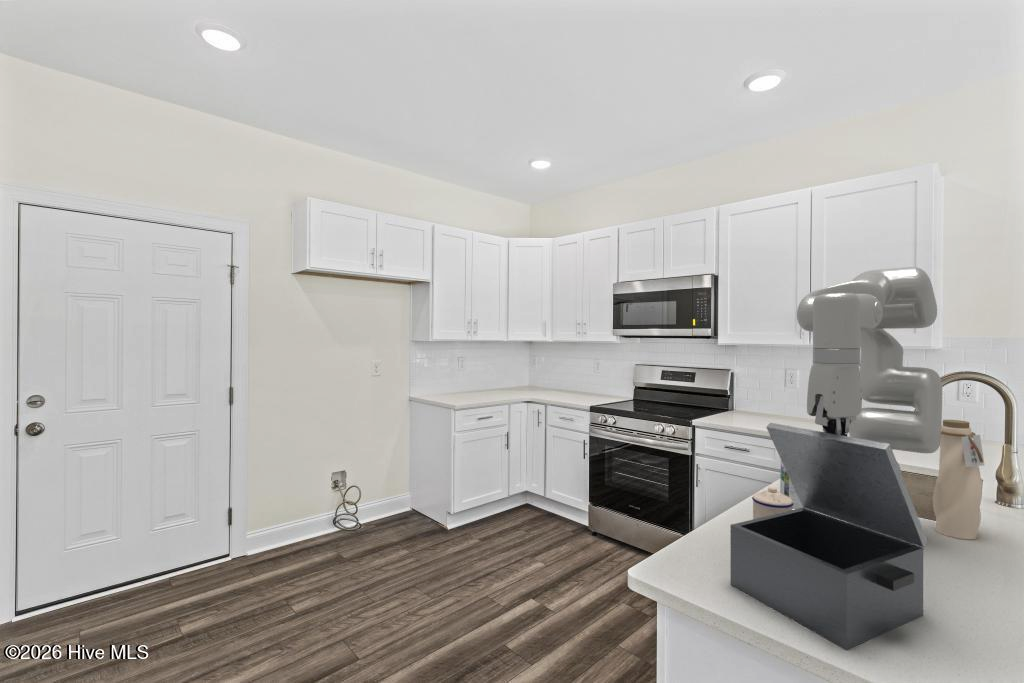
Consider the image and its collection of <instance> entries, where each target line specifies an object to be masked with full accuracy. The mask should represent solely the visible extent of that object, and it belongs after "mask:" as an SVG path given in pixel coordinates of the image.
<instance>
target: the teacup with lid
mask: <svg viewBox="0 0 1024 683" xmlns="http://www.w3.org/2000/svg"><path fill="white" fill-rule="evenodd" d="M751 499H752V504H753V505H752V510H753V511H752V512H753V513H752V520H753V519H757V518H761V517H765V516H770V515H774V514H778V513H782V512H786V511H791V510H792V506H793V504H794V503H793V501H792V499H791V498H789V497H788V496H785V495H783V494H781V493H780V491H778V489H777V488H776V487H774V486H769V487H768V488H767V490H763V491H760V492H759V491H758V492H755V493H753V495H752V497H751Z"/></svg>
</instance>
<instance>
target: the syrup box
mask: <svg viewBox="0 0 1024 683" xmlns="http://www.w3.org/2000/svg"><path fill="white" fill-rule="evenodd" d="M779 483H780V484H779V492H780V493H781V494H783V495H785V496H788V497H789V498H791V499H792V501H793V503H794V504H793V506H792V509H799V508H803V506H802V504H801V502H800V500H799V498H798V495H797V493H796V491H795V489H794V487H793V485H792V482H791V480H790V478H789V476H788V474H787V471H786V469H785V467H784V465H783V463H782V460H781V459H780V480H779ZM805 509H806V508H805Z"/></svg>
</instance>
